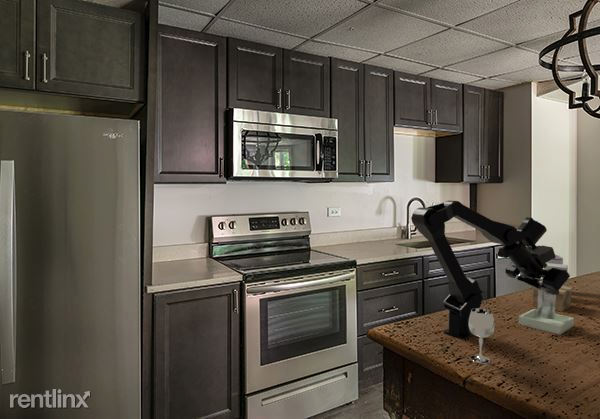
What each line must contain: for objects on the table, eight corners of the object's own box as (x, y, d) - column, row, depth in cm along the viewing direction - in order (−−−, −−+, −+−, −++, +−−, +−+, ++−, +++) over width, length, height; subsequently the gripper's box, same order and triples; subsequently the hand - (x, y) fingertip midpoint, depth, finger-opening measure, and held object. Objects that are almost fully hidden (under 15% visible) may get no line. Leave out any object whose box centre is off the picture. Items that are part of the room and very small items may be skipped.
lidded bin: (562, 312, 131) (563, 289, 131) (531, 305, 139) (531, 283, 139) (572, 306, 138) (573, 284, 137) (541, 300, 145) (542, 279, 145)
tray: (560, 334, 111) (560, 326, 111) (518, 324, 120) (518, 316, 120) (573, 325, 118) (574, 317, 118) (533, 316, 127) (533, 308, 127)
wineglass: (463, 359, 95) (464, 311, 95) (473, 352, 100) (474, 306, 99) (488, 367, 91) (489, 316, 91) (497, 359, 95) (498, 311, 95)
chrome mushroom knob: (547, 320, 116) (549, 283, 115) (531, 314, 121) (533, 279, 120) (560, 318, 117) (561, 282, 117) (544, 313, 122) (545, 278, 122)
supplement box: (565, 302, 143) (567, 267, 142) (542, 298, 147) (543, 265, 147) (567, 297, 149) (568, 264, 148) (544, 294, 153) (545, 262, 153)
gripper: (566, 241, 108) (596, 279, 111) (514, 233, 126) (541, 266, 129) (541, 271, 106) (572, 308, 109) (492, 258, 124) (520, 291, 128)
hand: (550, 291), depth 119 cm, fingers closed on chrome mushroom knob, 5 cm apart
